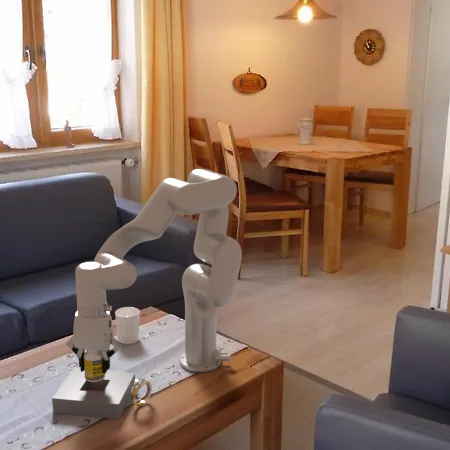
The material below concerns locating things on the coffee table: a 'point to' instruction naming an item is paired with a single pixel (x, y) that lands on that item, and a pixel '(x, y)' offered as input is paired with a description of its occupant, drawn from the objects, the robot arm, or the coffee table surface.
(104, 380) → the socket block
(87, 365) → the supplement bottle
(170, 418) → the coffee table surface
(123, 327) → the white cup
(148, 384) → the ring
